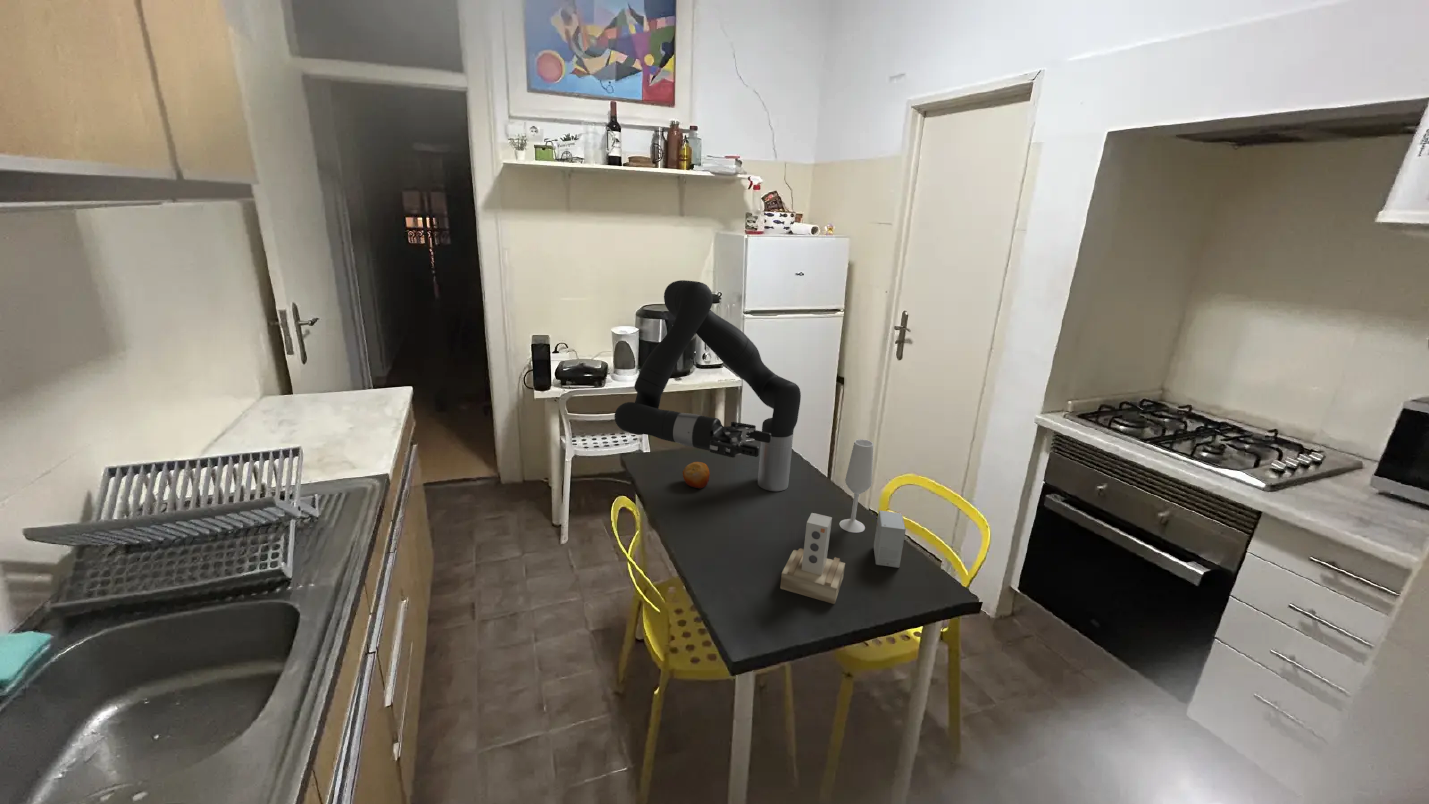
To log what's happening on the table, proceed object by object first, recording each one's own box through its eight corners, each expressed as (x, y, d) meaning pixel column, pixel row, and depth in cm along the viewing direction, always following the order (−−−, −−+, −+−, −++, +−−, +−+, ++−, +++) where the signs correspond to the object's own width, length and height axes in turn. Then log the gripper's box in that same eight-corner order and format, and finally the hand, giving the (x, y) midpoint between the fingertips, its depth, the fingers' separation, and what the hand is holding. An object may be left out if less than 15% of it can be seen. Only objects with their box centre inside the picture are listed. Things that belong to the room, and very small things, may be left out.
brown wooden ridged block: (792, 564, 134) (793, 546, 132) (843, 578, 130) (845, 560, 128) (780, 588, 125) (782, 570, 123) (834, 604, 121) (837, 585, 119)
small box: (899, 568, 134) (906, 530, 131) (874, 565, 135) (881, 526, 132) (896, 550, 141) (902, 512, 138) (873, 546, 142) (878, 509, 139)
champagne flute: (870, 528, 150) (883, 445, 142) (851, 535, 147) (863, 450, 139) (852, 517, 156) (864, 436, 148) (834, 522, 152) (844, 440, 145)
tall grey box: (806, 559, 129) (811, 512, 125) (825, 564, 127) (832, 517, 124) (801, 570, 125) (806, 522, 121) (821, 576, 123) (827, 527, 119)
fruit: (718, 477, 172) (711, 461, 166) (705, 498, 167) (698, 482, 162) (696, 470, 176) (689, 454, 170) (683, 490, 171) (675, 474, 166)
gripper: (684, 426, 122) (755, 440, 117) (710, 406, 135) (775, 418, 129) (683, 457, 125) (753, 473, 119) (708, 435, 137) (773, 449, 132)
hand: (765, 444), depth 124 cm, fingers open, 8 cm apart
